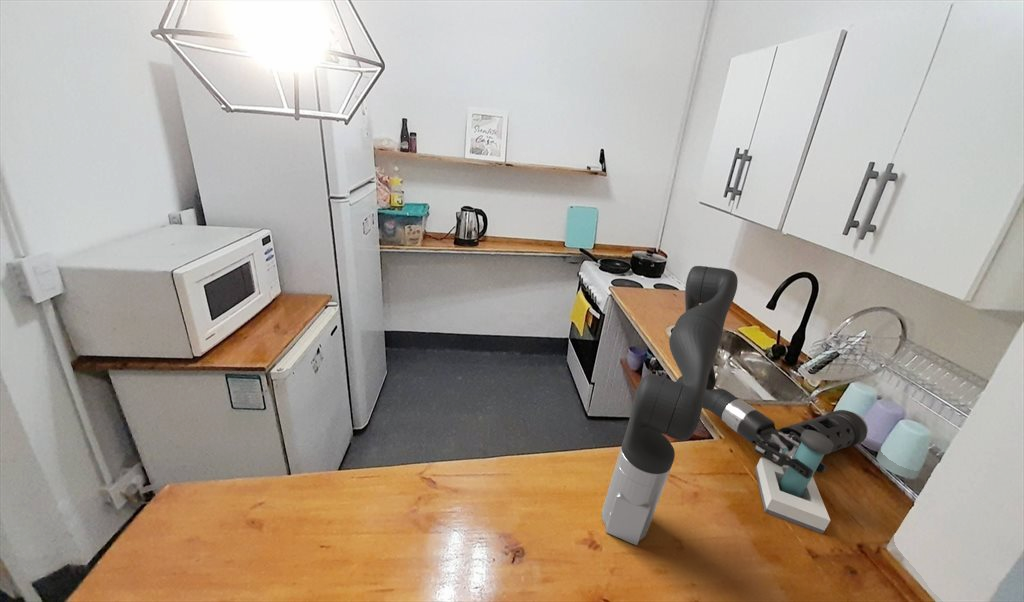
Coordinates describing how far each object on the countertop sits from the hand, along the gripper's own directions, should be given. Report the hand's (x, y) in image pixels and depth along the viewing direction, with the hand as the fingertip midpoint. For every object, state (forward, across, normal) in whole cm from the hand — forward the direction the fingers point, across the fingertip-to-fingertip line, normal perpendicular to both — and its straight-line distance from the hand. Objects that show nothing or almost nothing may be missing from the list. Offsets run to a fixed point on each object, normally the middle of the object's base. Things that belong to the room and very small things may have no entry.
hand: (817, 472), depth 87 cm
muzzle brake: (-11, +26, +11) cm, 31 cm away
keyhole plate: (-3, 0, +11) cm, 11 cm away
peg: (-3, 0, +9) cm, 9 cm away
